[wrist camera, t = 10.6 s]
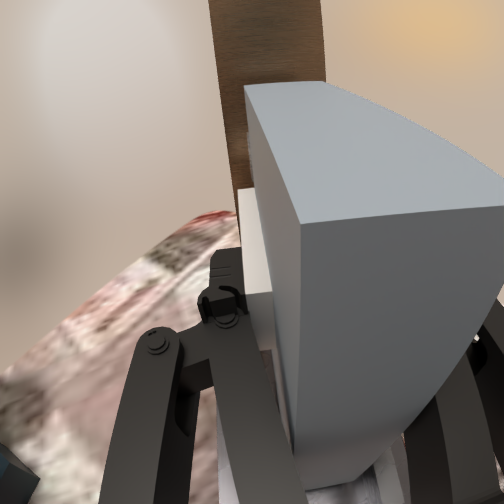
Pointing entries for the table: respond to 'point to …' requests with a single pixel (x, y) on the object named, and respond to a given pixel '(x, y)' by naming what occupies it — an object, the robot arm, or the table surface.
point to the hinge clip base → (238, 144)
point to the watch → (15, 479)
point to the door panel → (366, 266)
